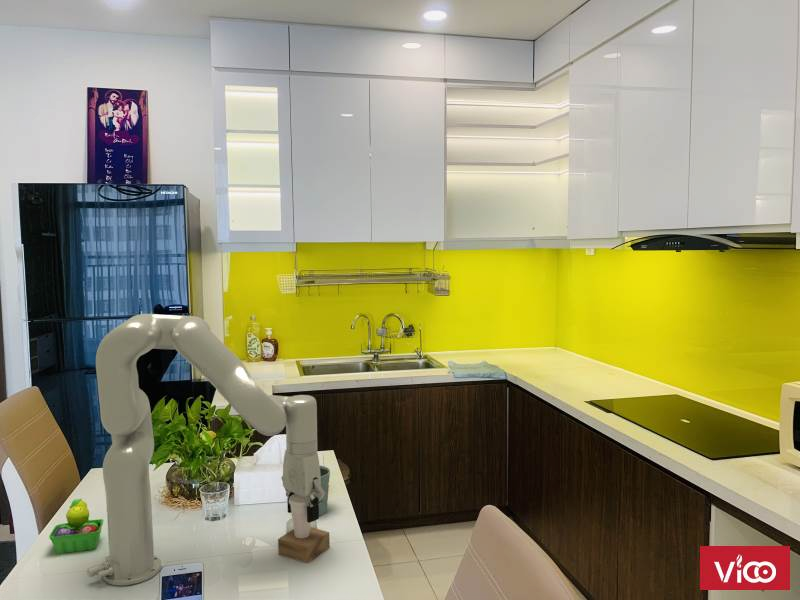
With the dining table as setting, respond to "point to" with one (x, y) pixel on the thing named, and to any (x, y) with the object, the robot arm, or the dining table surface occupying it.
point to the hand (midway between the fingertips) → (303, 515)
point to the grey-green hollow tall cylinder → (324, 484)
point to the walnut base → (304, 545)
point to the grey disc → (290, 527)
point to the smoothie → (300, 515)
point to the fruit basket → (76, 530)
